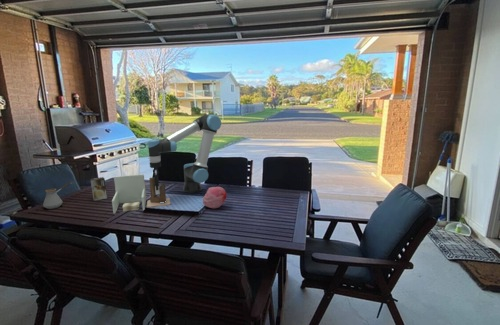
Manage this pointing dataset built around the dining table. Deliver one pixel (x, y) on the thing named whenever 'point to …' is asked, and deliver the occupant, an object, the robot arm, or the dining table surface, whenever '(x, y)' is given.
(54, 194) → the coffee pot
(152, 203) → the tile
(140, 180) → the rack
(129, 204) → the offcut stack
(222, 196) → the decorative rock
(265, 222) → the dining table surface
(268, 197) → the dining table surface
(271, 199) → the dining table surface
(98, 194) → the coffee box
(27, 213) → the dining table surface
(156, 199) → the wooden block
